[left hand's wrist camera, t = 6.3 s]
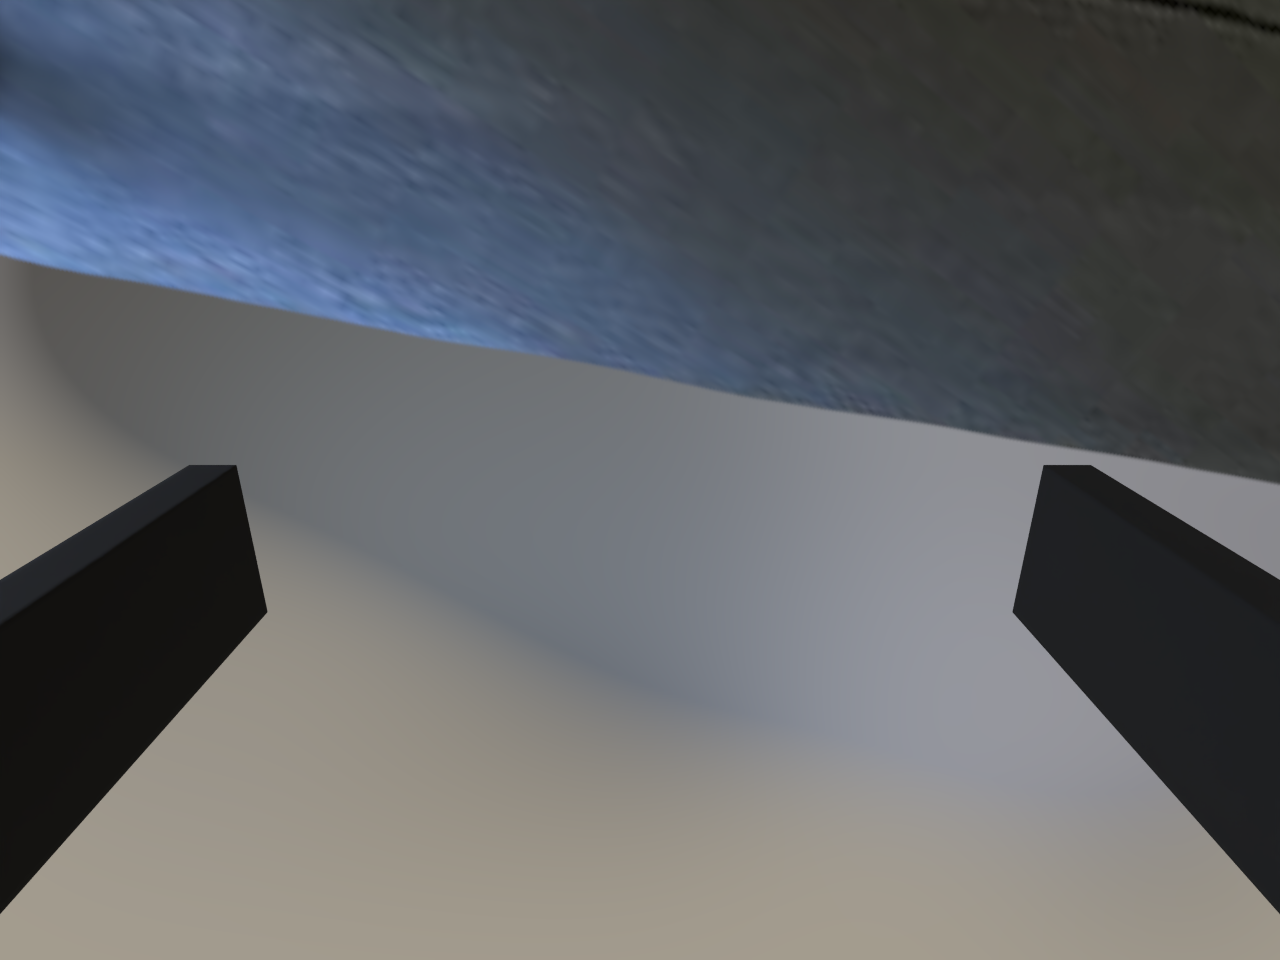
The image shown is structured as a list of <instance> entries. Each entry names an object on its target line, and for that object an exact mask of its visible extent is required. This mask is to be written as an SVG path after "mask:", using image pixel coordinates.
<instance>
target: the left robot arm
mask: <svg viewBox="0 0 1280 960" xmlns="http://www.w3.org/2000/svg"><path fill="white" fill-rule="evenodd" d="M266 613H267V607H266V603H265V598H264V593H263V589H262V584H261V579H260V574H259V570H258V565H257V560H256V555H255V551H254V546H253V542H252V537H251V532H250V527H249V522H248V518H247V513H246V509H245V504H244V499H243V494H242V489H241V485H240V480H239V475H238V471H237V466H236V465H189V466H187V467H185V468H184V469H182V470H180V471H179V472H177V473H176V474H174V475H172V476H171V477H169V478H167V479H166V480H164V481H162V482H161V483H159V484H157V485H156V486H154V487H152V488H151V489H149V490H147V491H146V492H144V493H143V494H141V495H139V496H138V497H136V498H134V499H133V500H131V501H129V502H128V503H126V504H124V505H123V506H121V507H120V508H118V509H116V510H115V511H113V512H111V513H110V514H108V515H106V516H105V517H103V518H101V519H100V520H98V521H96V522H95V523H93V524H92V525H90V526H88V527H87V528H85V529H83V530H82V531H80V532H78V533H77V534H75V535H73V536H72V537H70V538H68V539H67V540H65V541H64V542H62V543H60V544H59V545H57V546H55V547H54V548H52V549H50V550H49V551H47V552H45V553H44V554H42V555H40V556H39V557H37V558H36V559H34V560H32V561H31V562H29V563H27V564H26V565H24V566H22V567H21V568H19V569H17V570H16V571H14V572H12V573H11V574H9V575H8V576H6V577H4V578H3V579H1V580H0V914H1V912H2V911H3V910H4V909H5V908H6V907H7V906H8V904H9V903H10V902H11V901H12V900H13V899H14V898H15V897H16V895H17V894H18V893H19V892H20V891H21V890H22V889H23V888H24V886H25V885H26V884H27V883H28V882H29V881H30V880H31V879H32V877H33V876H34V875H35V874H36V873H37V872H38V871H39V870H40V868H41V867H42V866H43V865H44V864H45V863H46V862H47V860H48V859H49V858H50V857H51V856H52V855H53V854H54V853H55V851H56V850H57V849H58V848H59V847H60V846H61V845H62V844H63V842H64V841H65V840H66V839H67V838H68V837H69V836H70V834H71V833H72V832H73V831H74V830H75V829H76V828H77V827H78V825H79V824H80V823H81V822H82V821H83V820H84V819H85V818H86V816H87V815H88V814H89V813H90V812H91V811H92V810H93V808H94V807H95V806H96V805H97V804H98V803H99V802H100V801H101V800H102V798H103V797H104V796H105V795H106V794H107V793H108V792H109V790H110V789H111V788H112V787H113V786H114V785H115V784H116V783H117V781H118V780H119V779H120V778H121V777H122V776H123V775H124V774H125V772H126V771H127V770H128V769H129V768H130V767H131V766H132V764H133V763H134V762H135V761H136V760H137V759H138V758H139V757H140V755H141V754H142V753H143V752H144V751H145V750H146V749H147V748H148V746H149V745H150V744H151V743H152V742H153V741H154V740H155V739H156V737H157V736H158V735H159V734H160V733H161V732H162V731H163V729H164V728H165V727H166V726H167V725H168V724H169V723H170V722H171V720H172V719H173V718H174V717H175V716H176V715H177V714H178V712H179V711H180V710H181V709H182V708H183V707H184V706H185V705H186V703H187V702H188V701H189V700H190V699H191V698H192V697H193V696H194V694H195V693H196V692H197V691H198V690H199V689H200V688H201V687H202V685H203V684H204V683H205V682H206V681H207V680H208V679H209V677H210V676H211V675H212V674H213V673H214V672H215V671H216V670H217V669H218V667H219V666H220V665H221V664H222V663H223V662H224V661H225V659H226V658H227V657H228V656H229V655H230V654H231V653H232V652H233V650H234V649H235V648H236V647H237V646H238V645H239V644H240V643H241V641H242V640H243V639H244V638H245V637H246V636H247V635H248V633H249V632H250V631H251V630H252V629H253V628H254V627H255V626H256V624H257V623H258V622H259V621H260V620H261V619H262V618H263V617H264V615H265V614H266ZM1013 613H1014V614H1015V615H1016V617H1017V618H1018V619H1019V620H1020V621H1021V622H1022V623H1023V624H1024V626H1025V627H1026V628H1027V629H1028V630H1029V631H1030V632H1031V633H1032V635H1033V636H1034V637H1035V638H1036V639H1037V640H1038V641H1039V643H1040V644H1041V645H1042V646H1043V647H1044V648H1045V649H1046V650H1047V652H1048V653H1049V654H1050V655H1051V656H1052V657H1053V658H1054V659H1055V661H1056V662H1057V663H1058V664H1059V665H1060V666H1061V667H1062V668H1063V670H1064V671H1065V672H1066V673H1067V674H1068V675H1069V676H1070V678H1071V679H1072V680H1073V681H1074V682H1075V683H1076V684H1077V685H1078V687H1079V688H1080V689H1081V690H1082V691H1083V692H1084V693H1085V694H1086V696H1087V697H1088V698H1089V699H1090V700H1091V701H1092V702H1093V704H1094V705H1095V706H1096V707H1097V708H1098V709H1099V710H1100V711H1101V713H1102V714H1103V715H1104V716H1105V717H1106V718H1107V719H1108V720H1109V722H1110V723H1111V724H1112V725H1113V726H1114V727H1115V728H1116V729H1117V731H1118V732H1119V733H1120V734H1121V735H1122V736H1123V737H1124V739H1125V740H1126V741H1127V742H1128V743H1129V744H1130V745H1131V746H1132V748H1133V749H1134V750H1135V751H1136V752H1137V753H1138V754H1139V755H1140V757H1141V758H1142V759H1143V760H1144V761H1145V762H1146V763H1147V764H1148V766H1149V767H1150V768H1151V769H1152V770H1153V771H1154V772H1155V774H1156V775H1157V776H1158V777H1159V778H1160V779H1161V780H1162V781H1163V783H1164V784H1165V785H1166V786H1167V787H1168V788H1169V789H1170V790H1171V792H1172V793H1173V794H1174V795H1175V796H1176V797H1177V798H1178V800H1179V801H1180V802H1181V803H1182V804H1183V805H1184V806H1185V807H1186V809H1187V810H1188V811H1189V812H1190V813H1191V814H1192V815H1193V816H1194V818H1195V819H1196V820H1197V821H1198V822H1199V823H1200V824H1201V825H1202V827H1203V828H1204V829H1205V830H1206V831H1207V832H1208V833H1209V835H1210V836H1211V837H1212V838H1213V839H1214V840H1215V841H1216V842H1217V844H1218V845H1219V846H1220V847H1221V848H1222V849H1223V850H1224V851H1225V853H1226V854H1227V855H1228V856H1229V857H1230V858H1231V859H1232V860H1233V862H1234V863H1235V864H1236V865H1237V866H1238V867H1239V868H1240V870H1241V871H1242V872H1243V873H1244V874H1245V875H1246V876H1247V877H1248V879H1249V880H1250V881H1251V882H1252V883H1253V884H1254V885H1255V886H1256V888H1257V889H1258V890H1259V891H1260V892H1261V893H1262V894H1263V896H1264V897H1265V898H1266V899H1267V900H1268V901H1269V902H1270V903H1271V905H1272V906H1273V907H1274V908H1275V909H1276V910H1277V911H1278V912H1279V914H1280V580H1279V579H1277V578H1276V577H1274V576H1272V575H1271V574H1269V573H1268V572H1266V571H1264V570H1263V569H1261V568H1259V567H1258V566H1256V565H1254V564H1253V563H1251V562H1249V561H1248V560H1246V559H1244V558H1243V557H1241V556H1239V555H1238V554H1236V553H1235V552H1233V551H1231V550H1230V549H1228V548H1226V547H1225V546H1223V545H1221V544H1220V543H1218V542H1216V541H1215V540H1213V539H1212V538H1210V537H1208V536H1207V535H1205V534H1203V533H1202V532H1200V531H1198V530H1197V529H1195V528H1193V527H1192V526H1190V525H1188V524H1187V523H1185V522H1184V521H1182V520H1180V519H1179V518H1177V517H1175V516H1174V515H1172V514H1170V513H1169V512H1167V511H1165V510H1164V509H1162V508H1161V507H1159V506H1157V505H1156V504H1154V503H1152V502H1151V501H1149V500H1147V499H1146V498H1144V497H1142V496H1141V495H1139V494H1137V493H1136V492H1134V491H1133V490H1131V489H1129V488H1128V487H1126V486H1124V485H1123V484H1121V483H1119V482H1118V481H1116V480H1114V479H1113V478H1111V477H1109V476H1108V475H1106V474H1105V473H1103V472H1101V471H1100V470H1098V469H1096V468H1095V467H1093V466H1091V465H1044V466H1043V471H1042V475H1041V480H1040V485H1039V489H1038V494H1037V499H1036V504H1035V508H1034V513H1033V518H1032V522H1031V527H1030V532H1029V537H1028V541H1027V546H1026V551H1025V555H1024V560H1023V565H1022V570H1021V574H1020V579H1019V584H1018V589H1017V593H1016V598H1015V603H1014V607H1013Z"/></svg>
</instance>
